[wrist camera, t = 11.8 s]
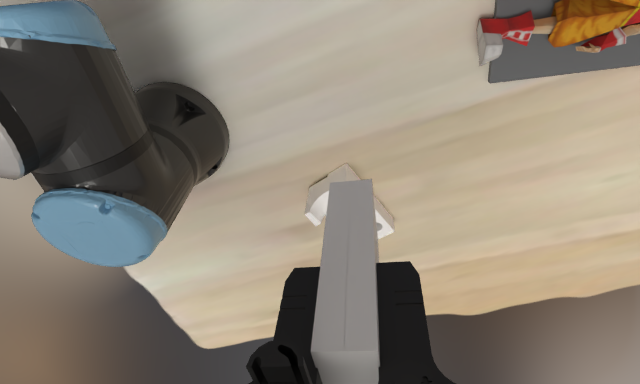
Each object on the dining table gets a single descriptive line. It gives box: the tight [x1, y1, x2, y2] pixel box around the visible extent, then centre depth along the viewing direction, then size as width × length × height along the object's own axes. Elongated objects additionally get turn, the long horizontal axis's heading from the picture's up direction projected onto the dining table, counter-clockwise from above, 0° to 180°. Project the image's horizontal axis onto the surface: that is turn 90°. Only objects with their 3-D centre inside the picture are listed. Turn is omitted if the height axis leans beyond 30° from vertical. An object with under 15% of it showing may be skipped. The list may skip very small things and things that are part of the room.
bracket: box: [305, 163, 395, 239], centre depth 59 cm, size 13×7×8 cm, turn 38°
